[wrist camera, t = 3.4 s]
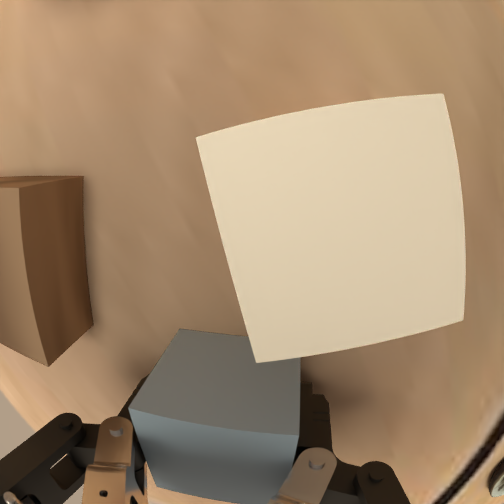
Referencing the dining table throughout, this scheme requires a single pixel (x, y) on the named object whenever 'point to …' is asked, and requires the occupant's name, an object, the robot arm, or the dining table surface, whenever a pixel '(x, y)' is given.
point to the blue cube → (218, 419)
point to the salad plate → (497, 481)
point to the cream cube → (341, 223)
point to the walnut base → (42, 265)
